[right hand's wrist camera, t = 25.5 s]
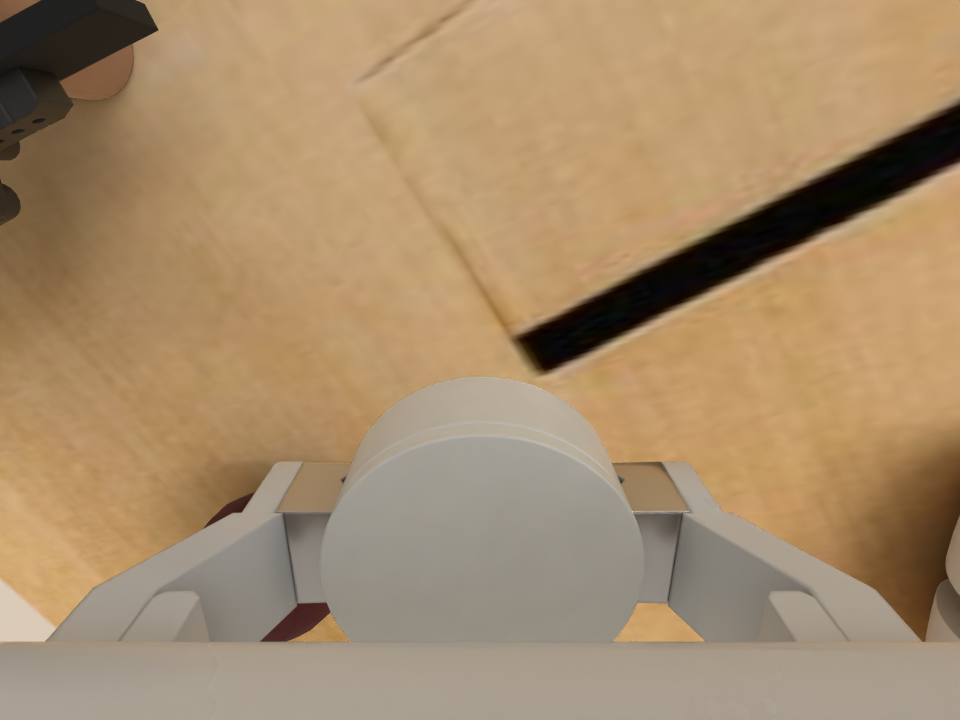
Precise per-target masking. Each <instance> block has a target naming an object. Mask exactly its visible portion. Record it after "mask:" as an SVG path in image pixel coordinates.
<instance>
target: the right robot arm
mask: <svg viewBox="0 0 960 720" xmlns="http://www.w3.org/2000/svg"><path fill="white" fill-rule="evenodd" d="M351 464H352V462H304V461H282V462H277V463H275V464H274V465H273V467H272V468H271V470H270V471H269V473H268V474H267V476H266V477H265V479H264V480H263V482H262V483H261V485H260V486H259V488H258V489H257V491H256V492H255V494H254V495H253V497H252V498H251V500H250V501H249V503H248V504H247V506H246V507H245V509H244V510H243V512H242V513H232V514H230V515H228V516H226V517H225V518H223V519H221V520H219V521H217V522H215V523H213V524H212V525H210V526H208V527H206V528H204V529H202V530H200V531H198V532H197V533H195V534H193V535H191V536H189V537H187V538H185V539H184V540H182V541H180V542H178V543H176V544H174V545H172V546H171V547H169V548H167V549H165V550H163V551H161V552H159V553H158V554H156V555H154V556H152V557H150V558H148V559H146V560H145V561H143V562H141V563H139V564H137V565H135V566H133V567H131V568H130V569H128V570H126V571H124V572H122V573H120V574H118V575H117V576H115V577H113V578H111V579H109V580H107V581H105V582H104V583H102V584H100V585H98V586H96V587H94V588H93V589H92V590H91V591H90V592H89V593H88V594H87V595H86V597H85V598H84V599H83V600H82V601H81V602H80V603H79V604H78V605H77V607H76V608H75V609H74V610H73V611H72V612H71V613H70V614H69V616H68V617H67V618H66V619H65V620H64V621H63V622H62V623H61V625H60V626H59V627H58V628H57V629H56V630H55V631H54V632H53V633H52V635H51V636H50V637H49V638H48V639H47V640H46V641H45V642H0V720H960V642H922V641H921V639H920V638H919V637H918V636H917V635H916V634H915V633H914V632H913V631H912V629H911V628H910V627H909V626H908V625H907V624H906V623H905V622H904V621H903V620H902V618H901V617H900V616H899V615H898V614H897V613H896V612H895V611H894V610H893V608H892V607H891V606H890V605H889V604H888V603H887V602H886V601H885V600H884V598H883V597H882V596H881V595H880V594H879V593H878V592H877V591H876V590H875V589H874V588H872V587H870V586H868V585H866V584H865V583H863V582H861V581H859V580H857V579H855V578H853V577H851V576H850V575H848V574H846V573H844V572H842V571H840V570H838V569H836V568H835V567H833V566H831V565H829V564H827V563H825V562H823V561H821V560H820V559H818V558H816V557H814V556H812V555H810V554H808V553H807V552H805V551H803V550H801V549H799V548H797V547H795V546H793V545H792V544H790V543H788V542H786V541H784V540H782V539H780V538H778V537H777V536H775V535H773V534H771V533H769V532H767V531H765V530H763V529H762V528H760V527H758V526H756V525H754V524H752V523H750V522H748V521H747V520H745V519H743V518H741V517H739V516H737V515H735V514H733V513H724V512H723V511H722V510H721V508H720V507H719V505H718V504H717V502H716V501H715V499H714V498H713V497H712V495H711V494H710V492H709V491H708V489H707V488H706V486H705V485H704V483H703V482H702V481H701V479H700V478H699V476H698V475H697V473H696V472H695V470H694V469H693V468H692V466H691V465H690V463H688V462H686V461H670V462H635V463H612V465H613V467H614V469H615V472H616V474H617V476H618V479H619V481H620V483H621V486H622V488H623V490H624V493H625V495H626V497H627V500H628V502H629V504H630V507H631V509H632V511H633V514H634V516H635V518H636V521H637V523H638V526H639V530H640V533H641V536H642V539H643V546H644V552H645V574H644V579H643V585H642V590H641V593H640V596H639V599H638V602H637V603H668V606H669V607H670V608H671V609H672V610H673V611H674V612H675V613H676V614H677V615H678V616H679V617H681V618H682V619H683V620H684V621H685V622H686V623H687V624H688V625H689V626H690V627H691V628H692V629H693V630H694V631H695V632H696V633H697V634H698V635H700V636H701V637H702V638H703V639H704V640H705V641H706V642H260V641H261V640H262V639H263V638H264V637H265V636H266V635H267V634H268V633H269V632H270V631H271V630H272V629H273V628H274V627H276V626H277V625H278V624H279V623H280V622H281V621H282V620H283V619H284V618H285V617H286V616H287V615H288V614H289V613H290V612H291V611H292V610H293V609H294V608H295V607H297V604H296V603H327V602H326V600H325V597H324V593H323V589H322V585H321V579H320V568H319V560H320V547H321V543H322V539H323V535H324V531H325V528H326V526H327V523H328V521H329V518H330V516H331V514H332V511H333V508H334V506H335V503H336V501H337V498H338V496H339V494H340V491H341V489H342V486H343V484H344V481H345V479H346V476H347V474H348V471H349V469H350V466H351Z"/></svg>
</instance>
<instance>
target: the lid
mask: <svg viewBox="0 0 960 720" xmlns="http://www.w3.org/2000/svg"><path fill="white" fill-rule="evenodd" d="M319 568H320V579H321V585H322V589H323V593H324V597H325V600H326V602H327V605H328V607H329V609H330V612H331V614H332V616H333V617H334V619H335V621H336V622H337V624H338V625H339V627H340V629H341V630H342V631H343V632H344V634H345V635H346V636H347V637H348V639H349V640H350V641H351V642H612V641H613V640H614V639H615V638H616V637H617V636H618V635H619V633H620V632H621V631H622V629H623V628H624V626H625V625H626V624H627V622H628V621H629V619H630V617H631V615H632V613H633V611H634V609H635V607H636V605H637V602H638V599H639V596H640V593H641V590H642V585H643V579H644V574H645V552H644V546H643V539H642V536H641V533H640V530H639V526H638V523H637V521H636V518H635V516H634V514H633V511H632V509H631V507H630V504H629V502H628V500H627V497H626V495H625V493H624V490H623V488H622V486H621V483H620V481H619V479H618V476H617V474H616V472H615V469H614V467H613V465H612V462H611V460H610V458H609V455H608V453H607V451H606V449H605V447H604V445H603V443H602V441H601V439H600V437H599V436H598V434H597V433H596V431H595V430H594V429H593V427H592V426H591V425H590V423H589V422H588V421H587V420H586V419H585V418H584V417H583V416H582V415H581V414H580V413H579V412H578V411H577V410H576V409H574V408H573V407H572V406H570V405H569V404H568V403H567V402H565V401H564V400H562V399H561V398H559V397H557V396H555V395H554V394H552V393H550V392H548V391H546V390H544V389H541V388H539V387H536V386H534V385H531V384H528V383H524V382H521V381H517V380H513V379H506V378H500V377H482V376H476V377H465V378H456V379H452V380H447V381H442V382H439V383H436V384H433V385H430V386H427V387H424V388H422V389H420V390H418V391H416V392H414V393H412V394H410V395H408V396H406V397H405V398H403V399H402V400H400V401H399V402H397V403H396V404H394V405H393V406H391V407H390V408H389V409H388V410H387V411H386V412H385V413H384V414H382V415H381V416H380V417H379V418H378V419H377V421H376V422H375V423H374V424H373V425H372V426H371V428H370V429H369V430H368V432H367V433H366V435H365V437H364V438H363V440H362V441H361V443H360V445H359V447H358V450H357V452H356V454H355V457H354V459H353V462H352V464H351V466H350V469H349V471H348V474H347V476H346V479H345V481H344V484H343V486H342V489H341V491H340V494H339V496H338V498H337V501H336V503H335V506H334V508H333V511H332V514H331V516H330V518H329V521H328V523H327V526H326V528H325V531H324V535H323V539H322V543H321V547H320V560H319Z"/></svg>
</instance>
